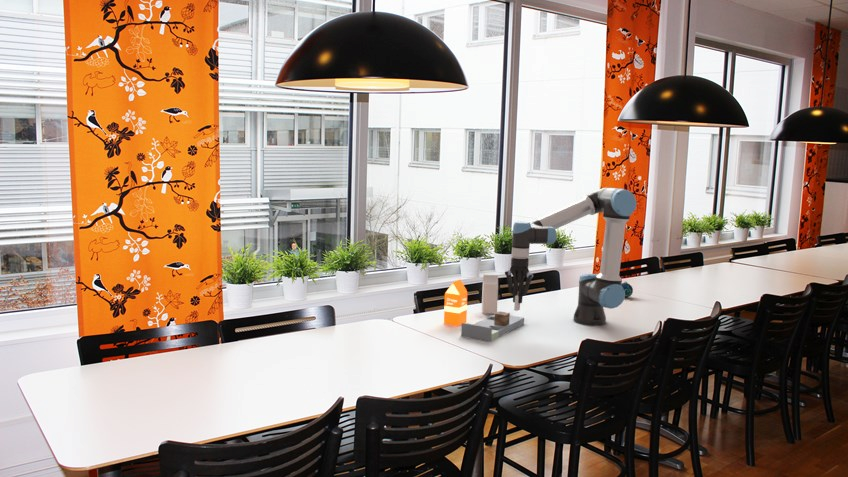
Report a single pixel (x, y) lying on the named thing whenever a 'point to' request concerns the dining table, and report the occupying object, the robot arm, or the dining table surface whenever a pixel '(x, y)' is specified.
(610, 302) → the robot arm
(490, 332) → the board
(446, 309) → the orange juice
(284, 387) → the dining table surface
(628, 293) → the christmas ornament
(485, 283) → the milk carton
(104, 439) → the dining table surface
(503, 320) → the walnut cube
